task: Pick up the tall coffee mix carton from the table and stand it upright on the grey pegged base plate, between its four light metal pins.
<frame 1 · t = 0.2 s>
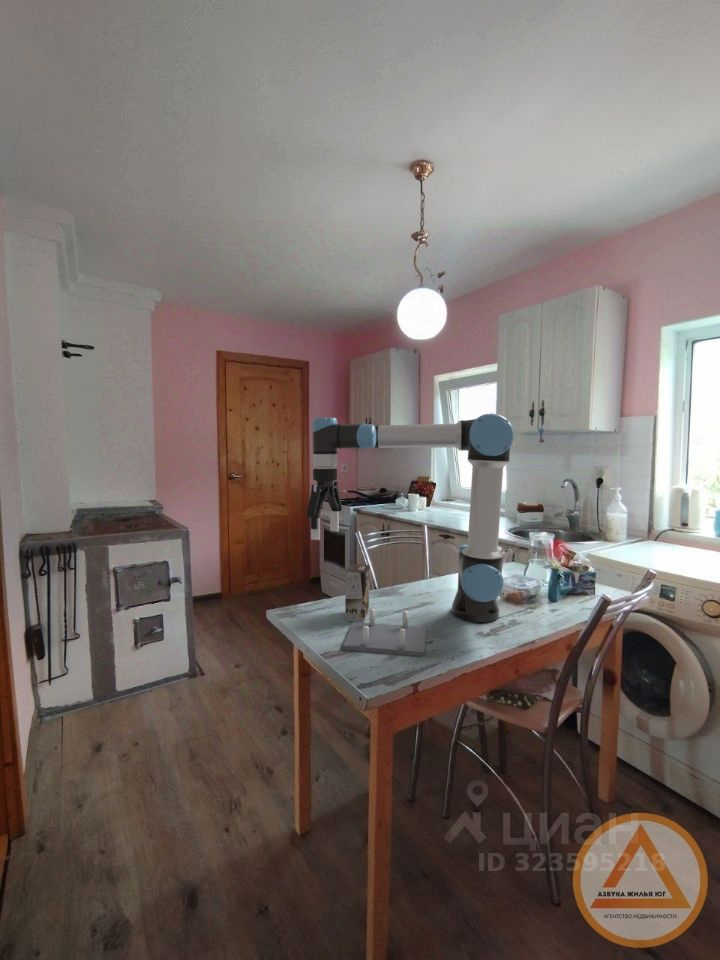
hand: (325, 535, 139), 27 cm above the table, tool pointing down, fingers open, 13 cm apart
coffee box: (357, 616, 144), on the table
grey pegged base plate: (386, 639, 127), on the table
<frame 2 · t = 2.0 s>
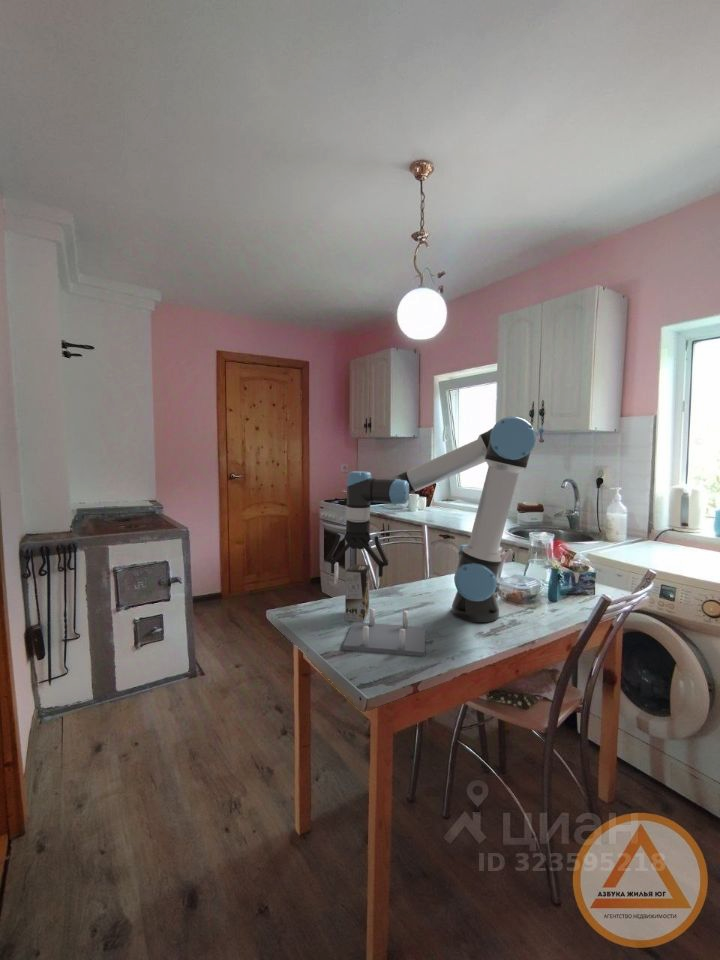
hand: (356, 584, 143), 10 cm above the table, tool pointing down, fingers open, 13 cm apart
nothing on the table moved.
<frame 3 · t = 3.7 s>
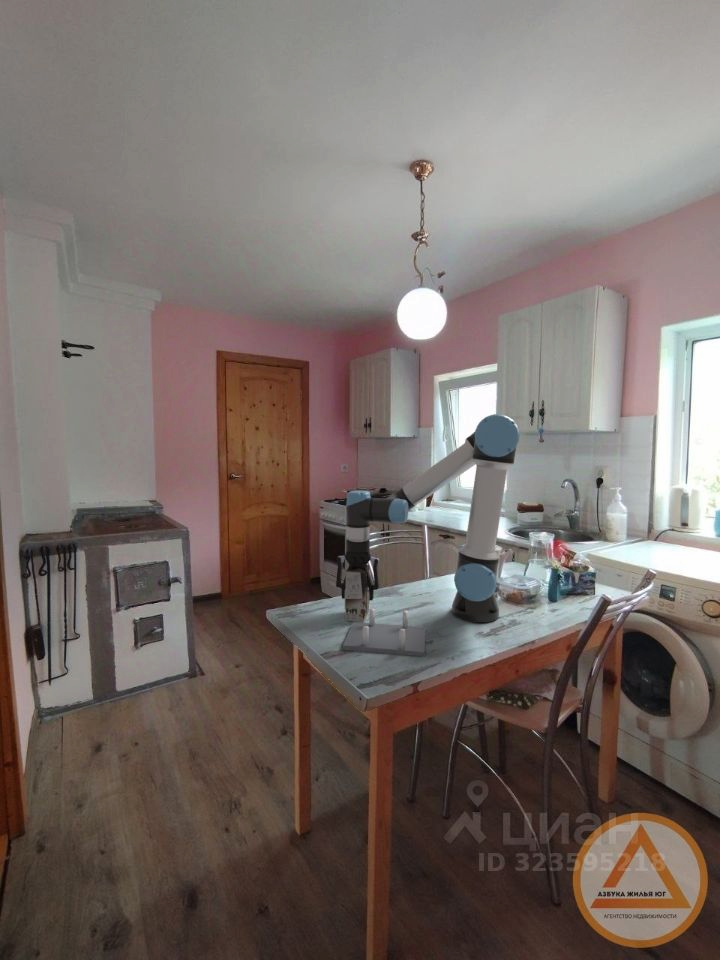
hand: (357, 608, 144), 2 cm above the table, tool pointing down, fingers closed on coffee box, 6 cm apart
coffee box: (357, 616, 144), on the table, touching gripper
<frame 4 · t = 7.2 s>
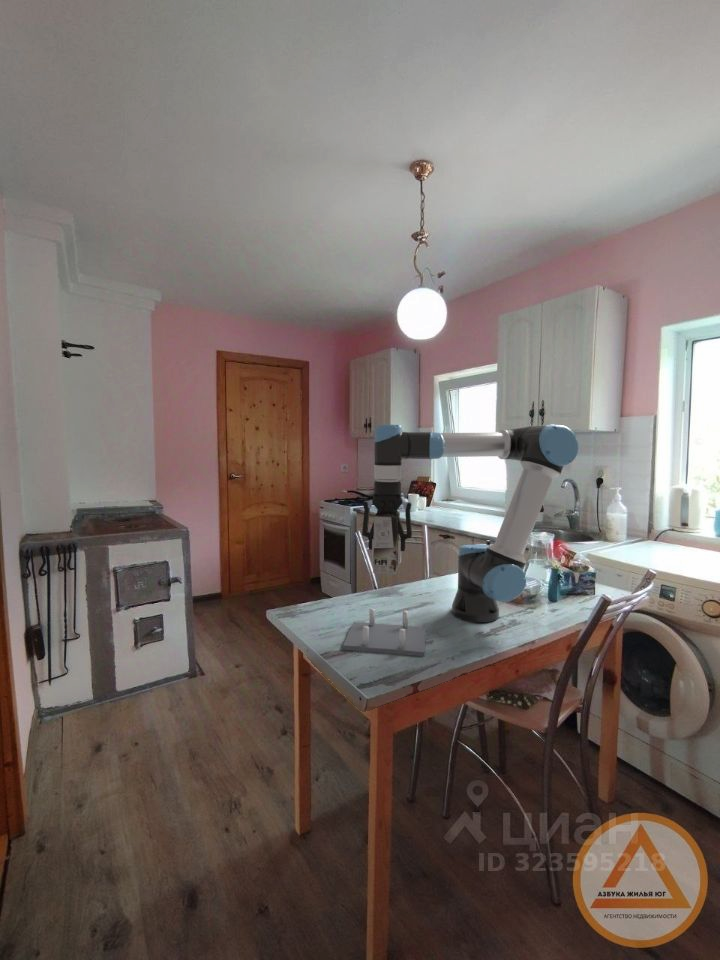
hand: (386, 561, 125), 23 cm above the table, tool pointing down, fingers closed on coffee box, 6 cm apart
coffee box: (386, 570, 125), point 20 cm above the table, touching gripper
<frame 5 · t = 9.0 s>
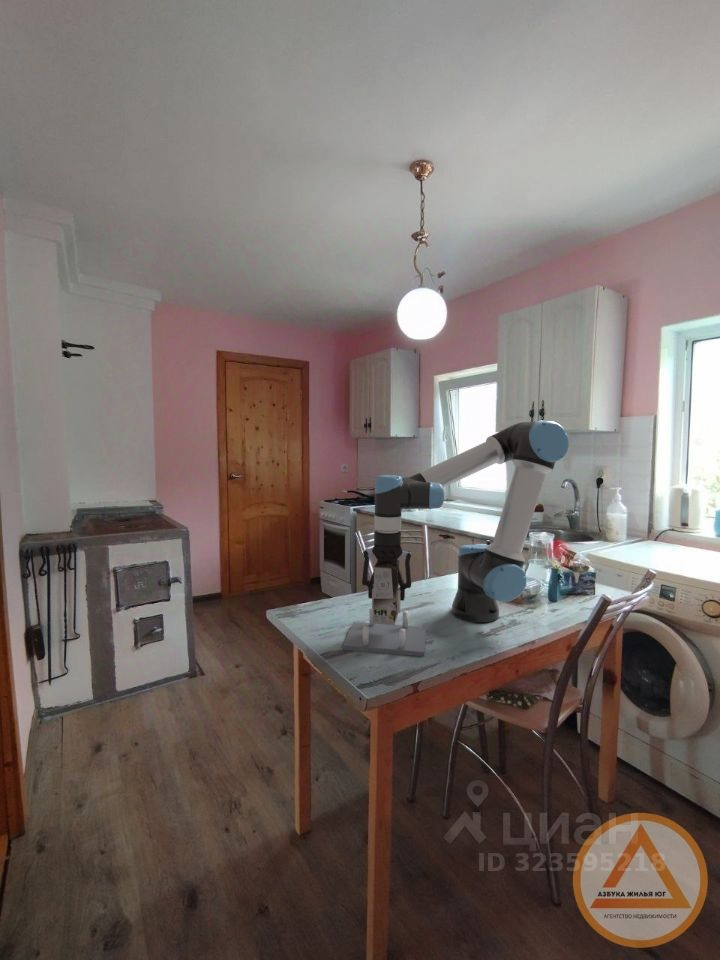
hand: (386, 610, 126), 9 cm above the table, tool pointing down, fingers closed on coffee box, 6 cm apart
coffee box: (386, 619, 126), point 6 cm above the table, touching gripper
when the fingers open (5 cm above the table, at t = 10.5 s): coffee box drops 1 cm, resting on grey pegged base plate.
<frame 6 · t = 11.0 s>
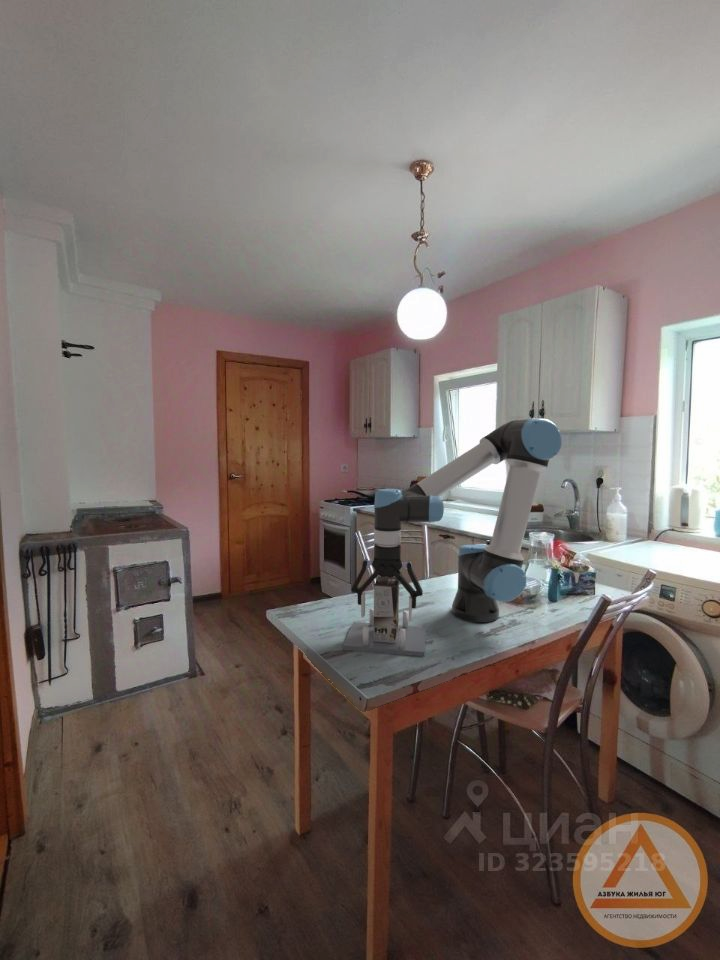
hand: (386, 617, 126), 7 cm above the table, tool pointing down, fingers open, 13 cm apart
coffee box: (386, 636, 127), point 1 cm above the table, touching grey pegged base plate
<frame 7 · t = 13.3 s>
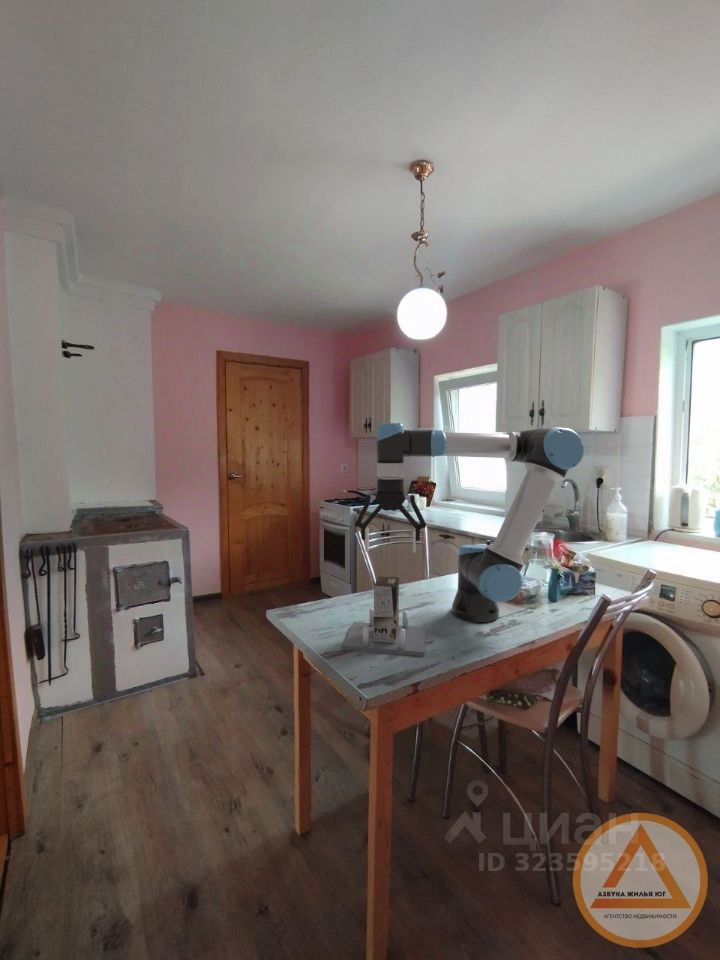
hand: (390, 551, 128), 25 cm above the table, tool pointing down, fingers open, 13 cm apart
nothing on the table moved.
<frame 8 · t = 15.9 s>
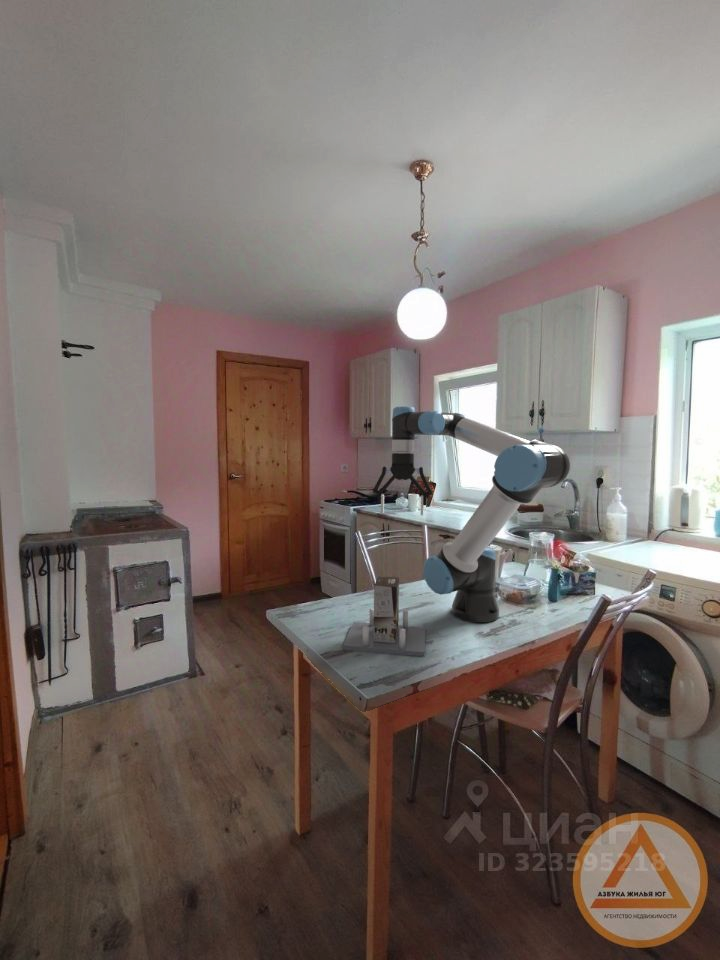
hand: (401, 514, 153), 32 cm above the table, tool pointing down, fingers open, 13 cm apart
nothing on the table moved.
at the end: coffee box 0.0 cm off-centre on the grey pegged base plate, point 1.0 cm above the grey pegged base plate's base; coffee box tilted 0°; the gripper is holding nothing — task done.
